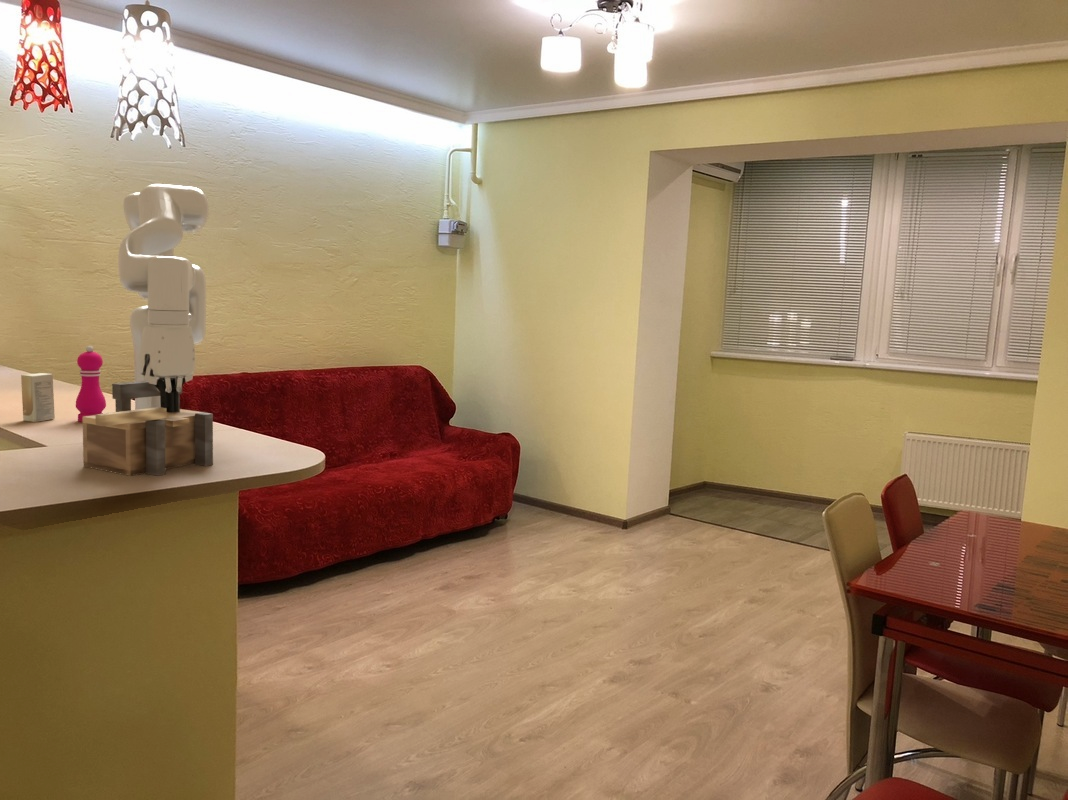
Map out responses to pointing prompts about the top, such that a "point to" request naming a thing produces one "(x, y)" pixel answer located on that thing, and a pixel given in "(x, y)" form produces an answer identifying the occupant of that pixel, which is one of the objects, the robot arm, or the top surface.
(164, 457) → the toolbox
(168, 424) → the toolbox lid
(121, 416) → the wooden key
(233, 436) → the top surface
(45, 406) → the skincare box
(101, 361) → the pepper mill
